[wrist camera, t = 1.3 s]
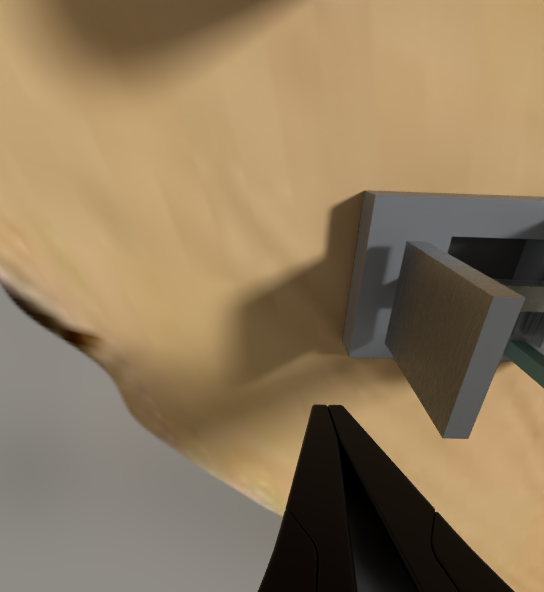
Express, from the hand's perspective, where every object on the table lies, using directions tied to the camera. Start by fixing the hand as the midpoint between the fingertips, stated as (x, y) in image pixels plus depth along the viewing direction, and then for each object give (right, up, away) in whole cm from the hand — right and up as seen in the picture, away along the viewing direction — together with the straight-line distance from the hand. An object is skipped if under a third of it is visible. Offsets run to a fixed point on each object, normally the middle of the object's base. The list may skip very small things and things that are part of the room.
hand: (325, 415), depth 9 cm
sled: (+12, +4, +9) cm, 16 cm away
